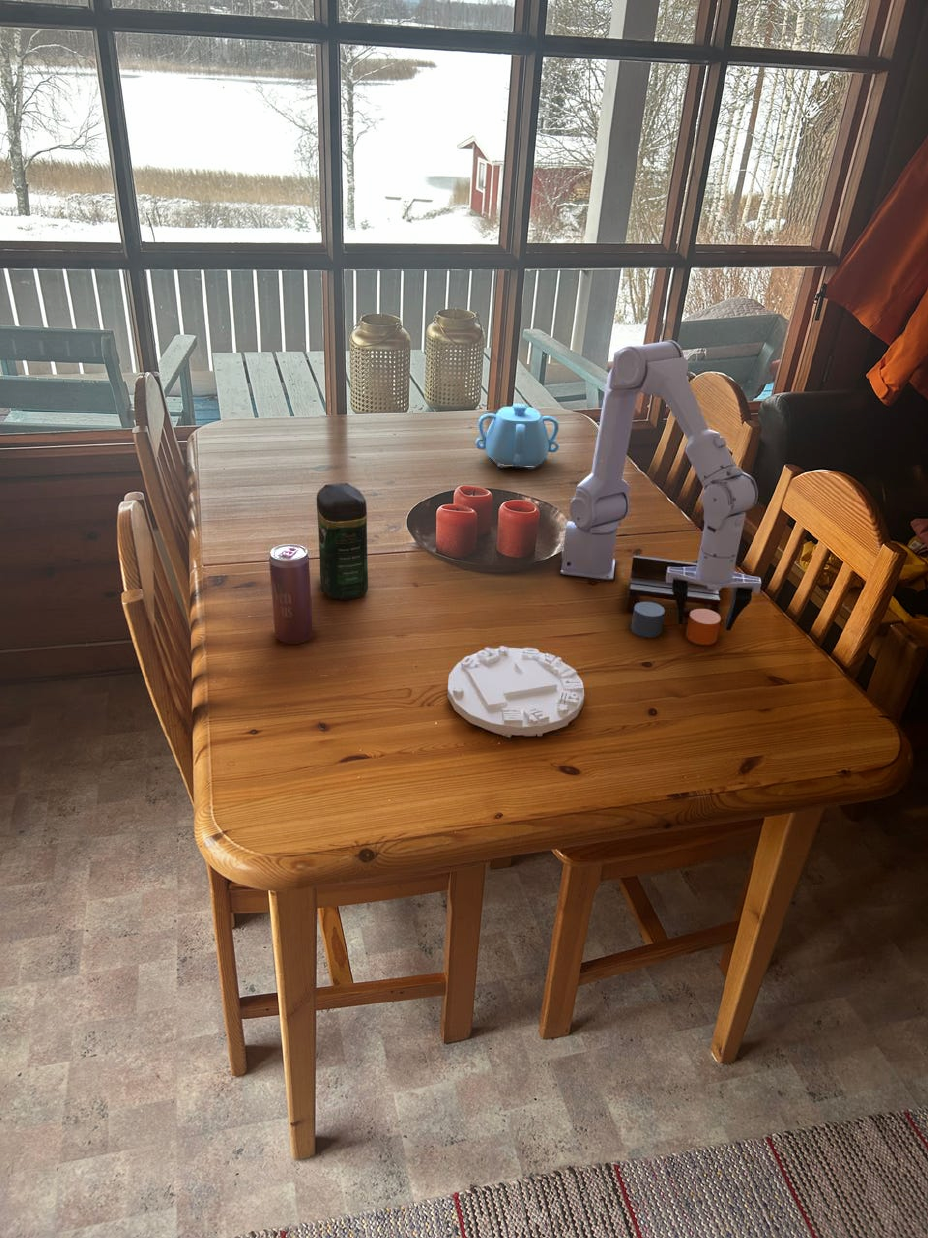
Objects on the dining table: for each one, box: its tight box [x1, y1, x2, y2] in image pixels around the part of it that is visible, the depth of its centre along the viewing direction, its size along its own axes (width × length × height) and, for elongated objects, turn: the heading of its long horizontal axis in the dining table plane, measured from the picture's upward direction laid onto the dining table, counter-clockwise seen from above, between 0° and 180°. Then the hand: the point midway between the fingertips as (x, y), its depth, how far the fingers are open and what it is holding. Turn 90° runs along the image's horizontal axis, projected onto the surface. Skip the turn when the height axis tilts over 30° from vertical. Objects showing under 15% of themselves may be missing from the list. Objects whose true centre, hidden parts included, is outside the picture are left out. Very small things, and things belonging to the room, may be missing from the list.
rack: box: [626, 555, 721, 614], centre depth 158 cm, size 15×9×6 cm, turn 79°
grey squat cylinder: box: [630, 601, 666, 638], centre depth 151 cm, size 5×5×4 cm
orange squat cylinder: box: [685, 608, 722, 646], centre depth 150 cm, size 5×5×4 cm
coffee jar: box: [316, 482, 369, 601], centre depth 156 cm, size 10×8×19 cm
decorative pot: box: [475, 403, 560, 470], centre depth 213 cm, size 16×16×14 cm
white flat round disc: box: [447, 645, 585, 739], centre depth 134 cm, size 20×20×3 cm
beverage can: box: [268, 543, 314, 645], centre depth 143 cm, size 6×6×15 cm
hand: (704, 624), depth 150 cm, fingers open, 7 cm apart
